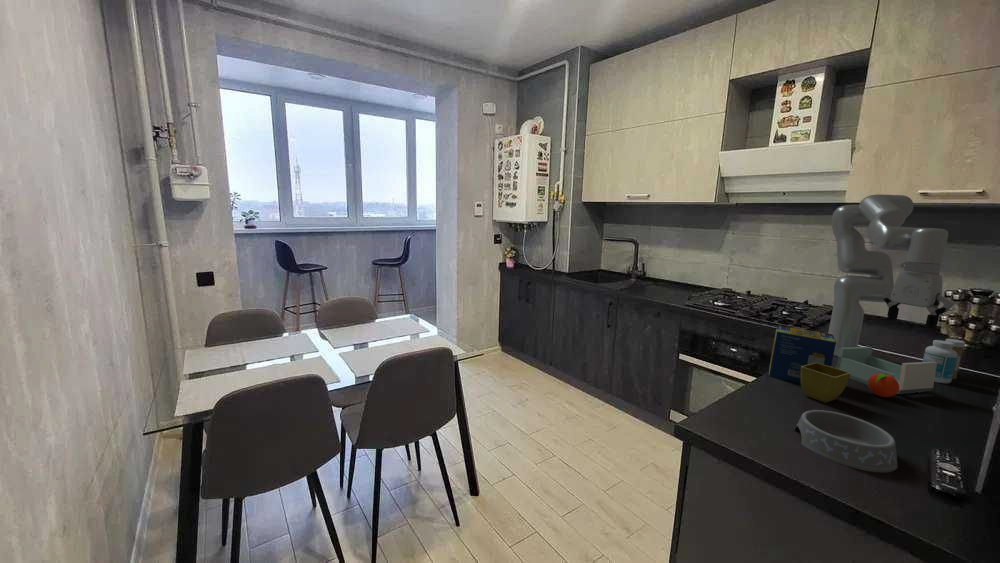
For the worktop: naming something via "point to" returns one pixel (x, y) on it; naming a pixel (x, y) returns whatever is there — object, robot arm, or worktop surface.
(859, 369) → the grey-green open bin
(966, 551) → the worktop surface
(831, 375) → the flower pot
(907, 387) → the panel
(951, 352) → the pill bottle
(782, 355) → the protein box
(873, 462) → the dog bowl
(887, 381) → the clementine
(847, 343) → the robot arm
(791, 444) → the worktop surface
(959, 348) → the sprinkles bottle
